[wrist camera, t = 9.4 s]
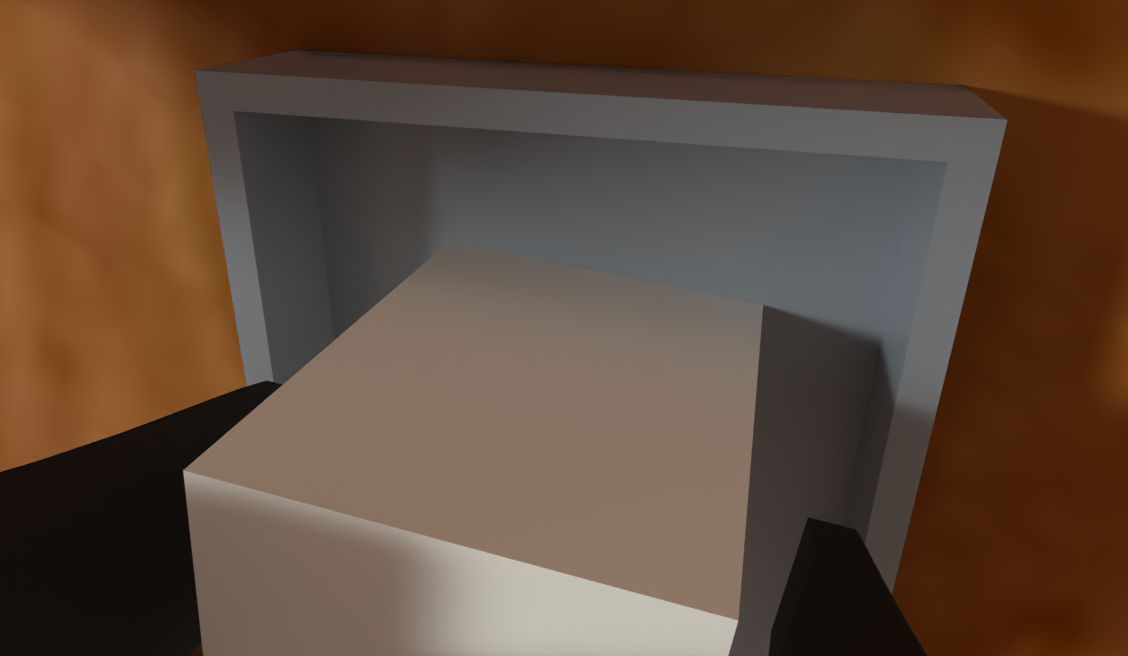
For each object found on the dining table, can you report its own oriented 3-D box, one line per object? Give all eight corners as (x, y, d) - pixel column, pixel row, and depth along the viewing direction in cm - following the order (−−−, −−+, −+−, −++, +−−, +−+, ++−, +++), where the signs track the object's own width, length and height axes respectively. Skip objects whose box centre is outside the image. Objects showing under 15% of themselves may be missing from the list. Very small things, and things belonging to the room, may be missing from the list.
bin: (294, 49, 13) (194, 70, 11) (964, 86, 11) (1007, 119, 9) (385, 847, 22) (339, 949, 19) (775, 954, 20) (772, 1083, 17)
